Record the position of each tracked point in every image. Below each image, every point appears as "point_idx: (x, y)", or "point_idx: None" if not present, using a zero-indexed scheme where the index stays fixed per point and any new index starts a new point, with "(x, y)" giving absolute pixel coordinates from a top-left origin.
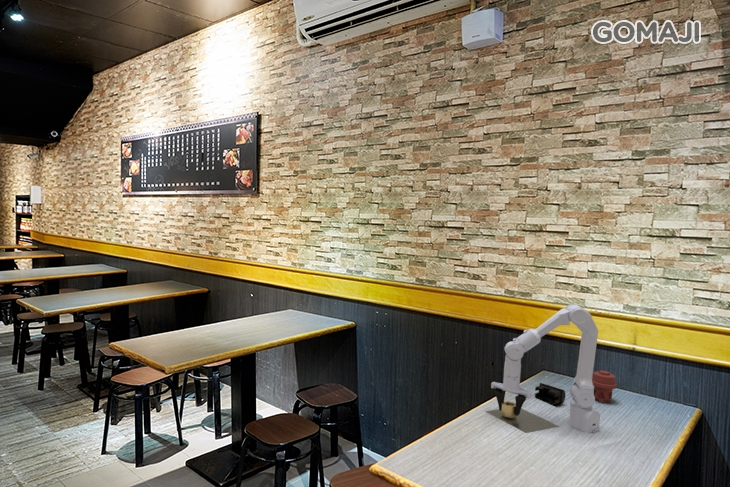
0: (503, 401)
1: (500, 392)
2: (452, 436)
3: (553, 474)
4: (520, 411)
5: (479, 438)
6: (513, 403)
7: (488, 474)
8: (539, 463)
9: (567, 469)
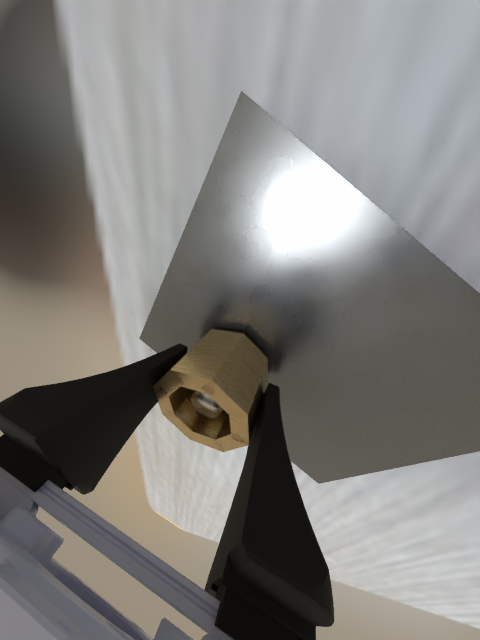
0: (152, 376)
1: (79, 483)
2: (163, 459)
3: (375, 584)
4: (283, 234)
5: (205, 466)
6: (215, 400)
7: None
8: (348, 555)
9: (426, 590)
